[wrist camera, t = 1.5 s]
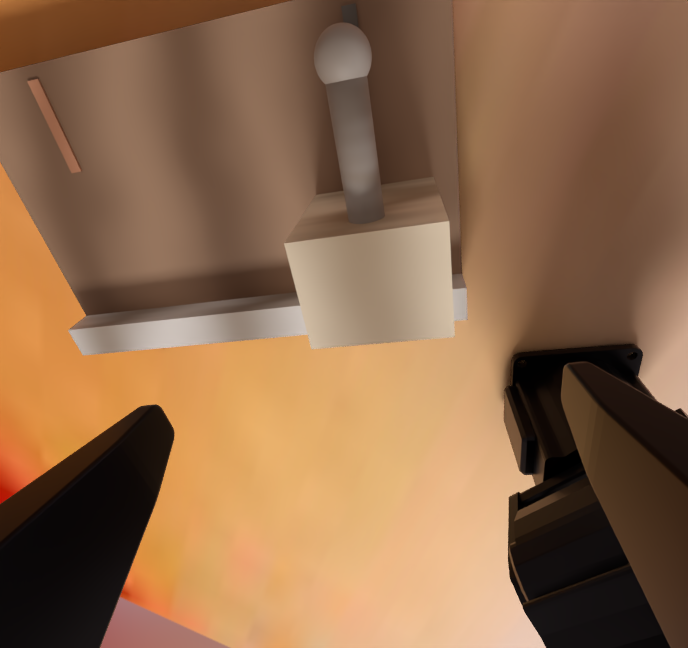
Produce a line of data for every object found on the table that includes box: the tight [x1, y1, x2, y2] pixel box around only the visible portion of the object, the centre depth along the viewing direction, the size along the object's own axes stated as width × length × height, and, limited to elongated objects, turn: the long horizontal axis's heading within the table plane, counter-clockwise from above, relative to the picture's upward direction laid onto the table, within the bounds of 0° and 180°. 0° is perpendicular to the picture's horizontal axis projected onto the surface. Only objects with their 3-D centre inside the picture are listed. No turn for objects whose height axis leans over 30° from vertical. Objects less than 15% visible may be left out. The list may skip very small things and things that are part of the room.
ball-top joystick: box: [284, 23, 455, 349], centre depth 15 cm, size 5×9×6 cm, turn 10°
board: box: [0, 0, 468, 355], centre depth 19 cm, size 20×13×4 cm, turn 100°
